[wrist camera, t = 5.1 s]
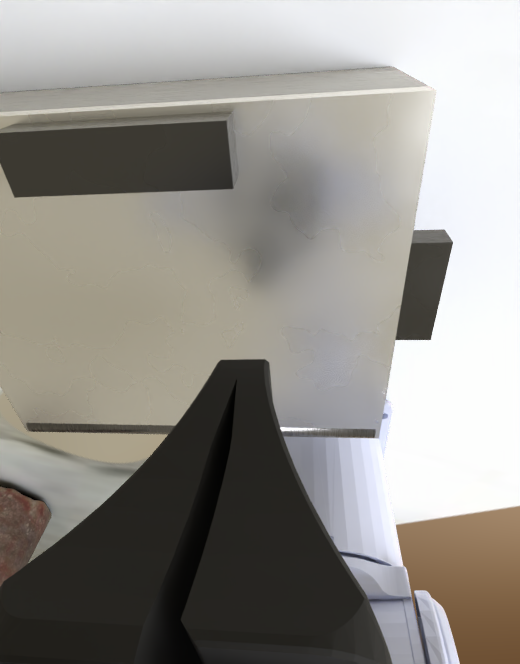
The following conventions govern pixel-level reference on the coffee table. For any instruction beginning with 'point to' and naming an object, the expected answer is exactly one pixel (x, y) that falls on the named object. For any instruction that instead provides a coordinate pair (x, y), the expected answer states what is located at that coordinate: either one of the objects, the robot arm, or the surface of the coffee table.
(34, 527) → the candle
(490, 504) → the coffee table surface
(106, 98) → the cooker pot
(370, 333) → the lid
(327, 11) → the coffee table surface
